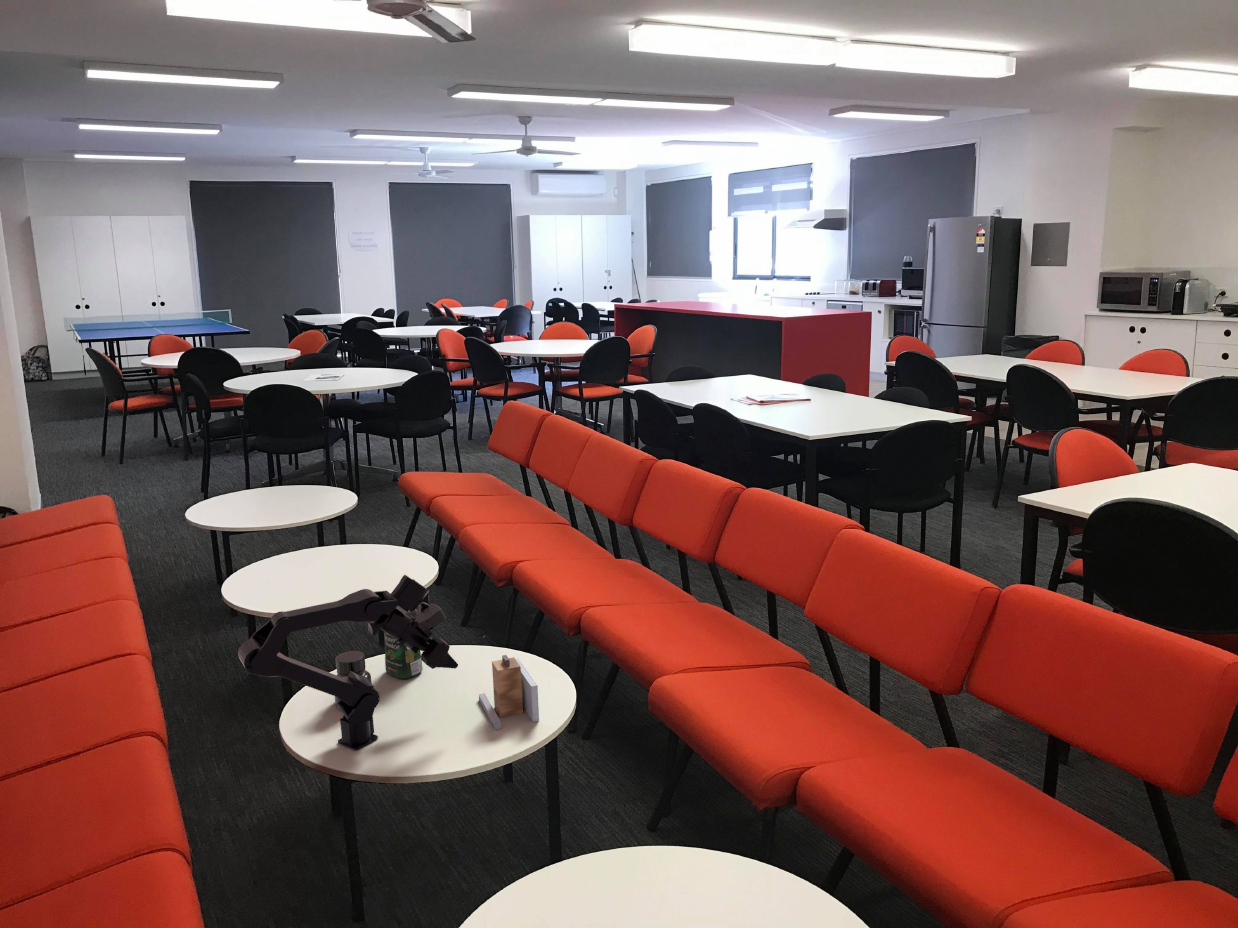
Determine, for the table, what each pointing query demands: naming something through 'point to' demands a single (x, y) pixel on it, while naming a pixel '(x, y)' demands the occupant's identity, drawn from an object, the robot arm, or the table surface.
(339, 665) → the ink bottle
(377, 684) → the table surface
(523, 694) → the wall dock
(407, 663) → the coffee jar
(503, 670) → the tan upright block
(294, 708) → the table surface
